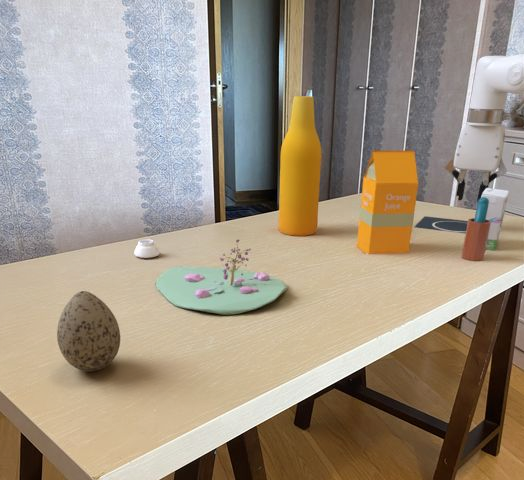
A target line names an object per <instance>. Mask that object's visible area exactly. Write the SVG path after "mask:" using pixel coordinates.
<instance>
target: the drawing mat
mask: <svg viewBox="0 0 524 480" xmlns="http://www.w3.org/2000/svg"><path fill="white" fill-rule="evenodd" d="M467 224H468V220H461V219H452V218H444V217H434V216H426V215H425V216H423V217H422V219H420V220H419V222H417V223H416V224H415V225H414V229H415V228H416V229H425V230H431V231H442V232H450V233H458V234H464V235H465V234H466V229H467Z"/></svg>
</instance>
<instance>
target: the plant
mask: <svg viewBox="0 0 524 480" xmlns="http://www.w3.org/2000/svg"><path fill="white" fill-rule="evenodd" d="M239 242H240V239H236V240H235V243H236V247H234V248H231V249H230V251H231V252H230V253H229V254H230V255H229V257H227V255H226V254H225V253H222V256H225V257H224V258H223V257H219V260H220V261H221V263H222V266H223V267H211V266H209V267H208V266H182V265H181V266H179V265H178V266H171V267H169V268H168V269H167V270H165V271H164V272H162V273H161V275H160V276H158V278H157V279H156V282H155V286H156V289H157V290H158V291H159V293H160V294H162V296H164V298H165V299H166V300H167V301H168V302H169V303H170V304H172V305H173V306H174V307H177V308H182V309H187V310H194V311H198V312H199V311H200V312H205V313H212V314H217V315H218V314H219V315H223V316H225V315H226V316H227V315H237V314H242V313H246V312H250V311H254V310H257V309H259V308H262V307H264V306H266V305H269V304H270V303H272V302H274V301H275V300H276V299H278V298H279V297H280V296H281V295H282V294H284V292H286V290H288V286H287V284H286V282H284V281H283V280H282V279H280V278H277V277H275V276H272V275H270V274H268V273H265V272H256V271H252V270H251V271H250V270H242V269H239V267H241V266H242V265H244V266H245V267H247V264H244V261H247V262H249V258H248V257H246V258H245V257H244V256H242V254H244V255H245V256H248V255H249V252H250V251H251V250H252V249H251V248H248V249H247V248H246V249H243V250H242V252H240V251H241V249H240V248H239V246H238V244H239ZM233 254H235V255H234V257H233V258H232V257H231V256H232V255H233ZM225 259H228V260H227V261H226V263H223V261H224V260H225ZM229 263H231V266H229ZM240 263H241V264H240ZM237 264H240V265H238V266H237Z"/></svg>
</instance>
